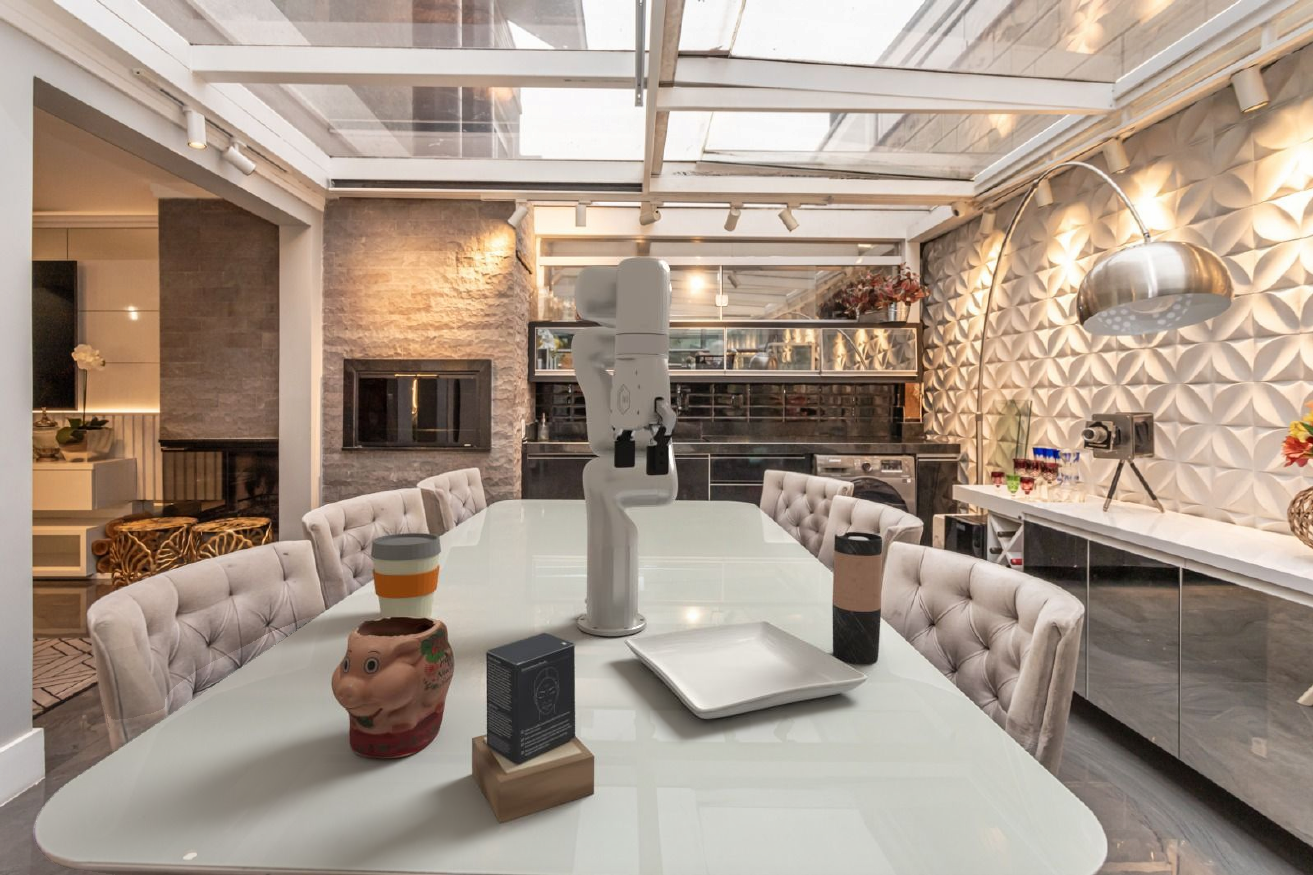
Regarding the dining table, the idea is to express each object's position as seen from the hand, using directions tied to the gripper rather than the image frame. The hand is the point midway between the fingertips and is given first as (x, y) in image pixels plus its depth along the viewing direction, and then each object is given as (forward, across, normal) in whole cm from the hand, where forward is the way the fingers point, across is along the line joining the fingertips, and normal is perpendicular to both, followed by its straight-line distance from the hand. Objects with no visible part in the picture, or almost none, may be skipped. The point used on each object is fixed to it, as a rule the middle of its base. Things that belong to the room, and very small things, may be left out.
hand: (640, 471), depth 93 cm
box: (+27, +16, -21) cm, 38 cm away
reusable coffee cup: (+33, -50, -24) cm, 64 cm away
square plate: (+32, +4, +15) cm, 36 cm away
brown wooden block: (+31, +16, -21) cm, 41 cm away
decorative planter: (+32, -2, -32) cm, 45 cm away
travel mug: (+32, +6, +37) cm, 49 cm away
